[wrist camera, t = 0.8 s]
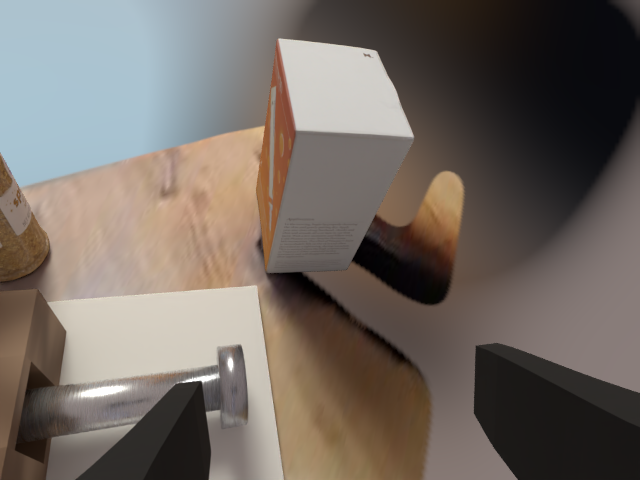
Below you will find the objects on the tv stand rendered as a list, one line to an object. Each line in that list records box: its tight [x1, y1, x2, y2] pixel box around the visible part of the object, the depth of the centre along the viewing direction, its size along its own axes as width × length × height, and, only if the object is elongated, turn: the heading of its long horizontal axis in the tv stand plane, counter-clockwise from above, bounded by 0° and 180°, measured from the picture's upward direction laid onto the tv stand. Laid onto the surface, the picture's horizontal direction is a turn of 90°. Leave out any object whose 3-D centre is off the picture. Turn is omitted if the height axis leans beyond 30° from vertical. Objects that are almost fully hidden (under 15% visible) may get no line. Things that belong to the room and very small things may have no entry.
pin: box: [16, 344, 248, 444], centre depth 19 cm, size 4×12×4 cm, turn 102°
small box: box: [256, 39, 414, 273], centre depth 27 cm, size 8×6×13 cm
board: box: [46, 286, 284, 480], centre depth 21 cm, size 16×17×1 cm
